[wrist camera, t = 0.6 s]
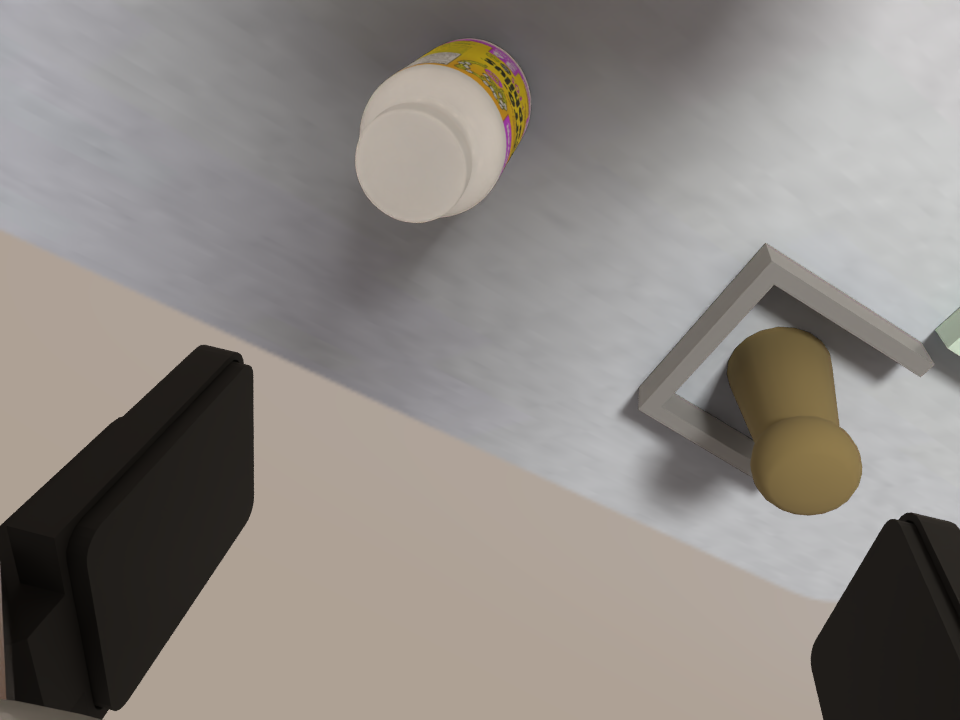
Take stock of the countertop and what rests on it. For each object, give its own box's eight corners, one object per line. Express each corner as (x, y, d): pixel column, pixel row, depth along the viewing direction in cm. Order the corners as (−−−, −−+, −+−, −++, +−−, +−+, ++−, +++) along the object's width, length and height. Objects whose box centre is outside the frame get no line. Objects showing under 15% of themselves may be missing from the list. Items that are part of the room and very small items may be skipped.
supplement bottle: (544, 148, 41) (506, 235, 31) (433, 170, 43) (361, 258, 32) (518, 20, 38) (467, 66, 27) (399, 50, 40) (307, 104, 29)
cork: (711, 348, 46) (727, 460, 36) (812, 312, 43) (856, 422, 34) (747, 422, 48) (770, 546, 39) (845, 392, 45) (895, 515, 36)
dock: (765, 242, 42) (771, 260, 40) (921, 342, 43) (934, 364, 41) (638, 387, 48) (638, 409, 46) (777, 470, 49) (782, 495, 47)
